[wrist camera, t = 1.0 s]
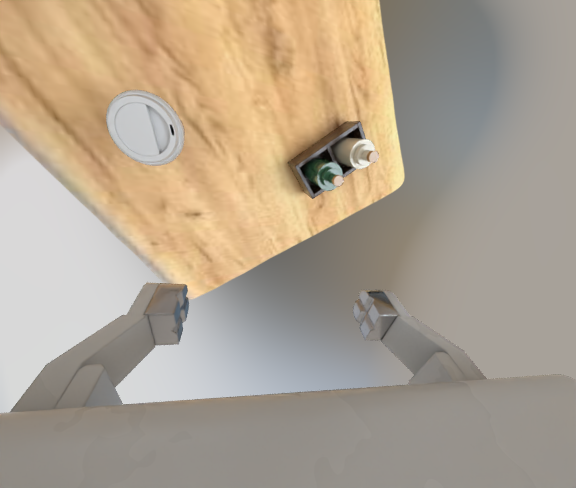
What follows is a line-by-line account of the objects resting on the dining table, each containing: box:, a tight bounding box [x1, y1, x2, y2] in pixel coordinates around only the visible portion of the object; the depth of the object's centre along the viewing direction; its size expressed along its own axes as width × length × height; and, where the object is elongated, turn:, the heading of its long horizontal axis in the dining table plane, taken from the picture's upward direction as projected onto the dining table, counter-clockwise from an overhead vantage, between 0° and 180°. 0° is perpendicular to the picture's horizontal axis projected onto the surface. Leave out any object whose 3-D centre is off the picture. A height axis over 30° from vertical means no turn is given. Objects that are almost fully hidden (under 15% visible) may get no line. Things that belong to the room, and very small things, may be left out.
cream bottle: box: [330, 137, 379, 169], centre depth 47 cm, size 6×6×14 cm
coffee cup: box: [106, 90, 185, 166], centre depth 36 cm, size 10×10×15 cm
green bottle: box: [301, 157, 344, 191], centre depth 47 cm, size 6×6×14 cm
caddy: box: [288, 121, 366, 199], centre depth 51 cm, size 16×9×6 cm, turn 121°
